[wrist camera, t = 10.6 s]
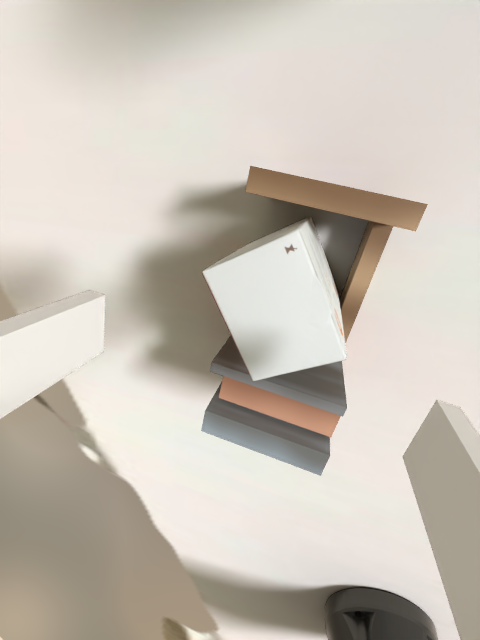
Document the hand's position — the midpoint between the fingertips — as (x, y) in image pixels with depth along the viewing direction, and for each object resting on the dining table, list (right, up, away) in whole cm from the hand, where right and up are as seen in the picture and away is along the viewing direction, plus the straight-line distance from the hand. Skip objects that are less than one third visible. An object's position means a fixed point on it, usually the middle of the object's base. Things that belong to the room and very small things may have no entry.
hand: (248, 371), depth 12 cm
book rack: (+6, +4, +18) cm, 19 cm away
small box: (+5, +7, +17) cm, 19 cm away
